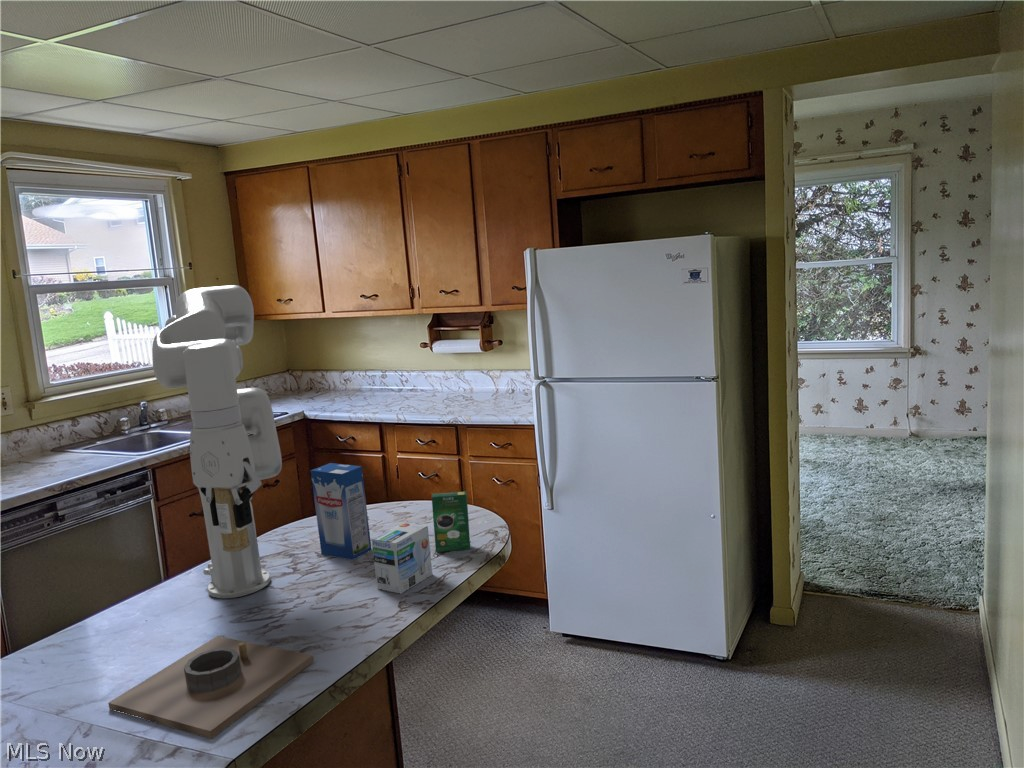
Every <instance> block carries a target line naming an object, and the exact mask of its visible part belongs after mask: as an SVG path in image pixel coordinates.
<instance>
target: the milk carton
mask: <svg viewBox="0 0 1024 768" xmlns="http://www.w3.org/2000/svg"><path fill="white" fill-rule="evenodd" d="M310 476H311V483H312V492H313V498H314V499H313V500H314V506H315V515H316V522H317V523H316V524H317V528H318V529H317V530H318V531H317V532H318V538H319V545H320V552H321V553H320V554H322V555H323V556H324V555H325V556H329V557H334V556H335V557H334V558H339V557H341V558H340V559H344V558H345V560H349V559H350V560H351V561H354V560H356V559H358V558H360V557H361V556H363V555H365V554H367V553H368V551H369V552H370V550H371V551H373V548H372V540H371V536H370V535H371V534H370V523H369V518H368V507H367V499H366V493H365V491H366V490H365V485H364V475H363V467H362V465H354V464H353V465H352V464H344V463H343V464H342V463H334V462H329V463H327V464H324V465H321V466H320V467H316V468H313V469H311V470H310ZM359 556H360V557H359ZM350 560H349V561H350Z"/></svg>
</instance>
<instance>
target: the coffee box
mask: <svg viewBox="0 0 1024 768" xmlns="http://www.w3.org/2000/svg"><path fill="white" fill-rule="evenodd" d="M431 506H432V517H433V518H432V520H433V531H434V543H435V553H441V552H443V553H445V552H453V551H464V550H470V549H471V538H470V521H469V510H468V508H469V507H468V494H467V491H466V490H465V491H454V492H453V491H451V492H441V493H440V492H438V493H436V492H435V493H431Z"/></svg>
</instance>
